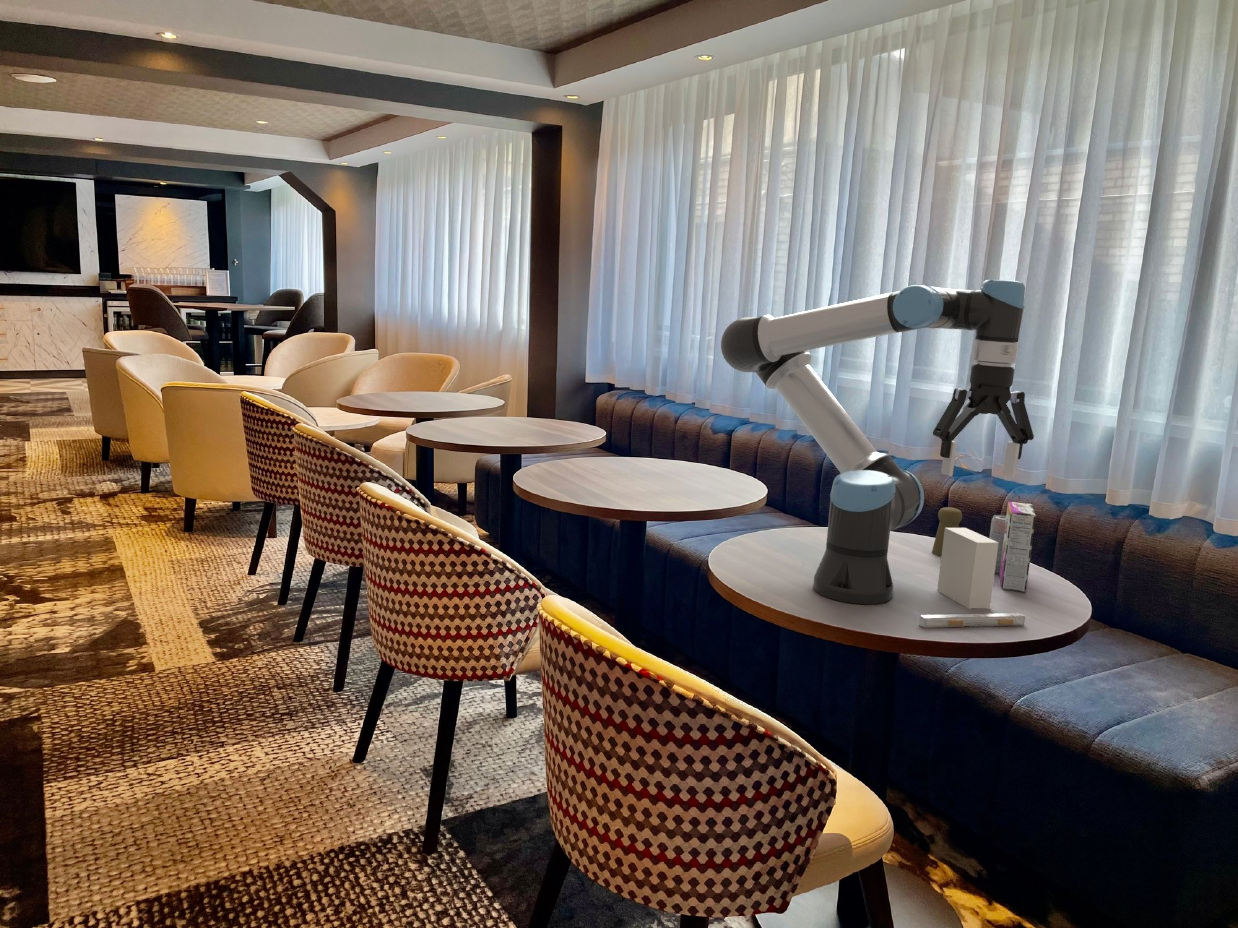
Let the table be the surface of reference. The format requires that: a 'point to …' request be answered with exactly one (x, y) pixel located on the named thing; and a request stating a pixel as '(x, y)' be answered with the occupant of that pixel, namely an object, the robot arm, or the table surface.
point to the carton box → (967, 567)
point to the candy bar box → (1017, 546)
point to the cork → (945, 526)
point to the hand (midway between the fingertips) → (978, 475)
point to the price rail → (972, 620)
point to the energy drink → (998, 536)
